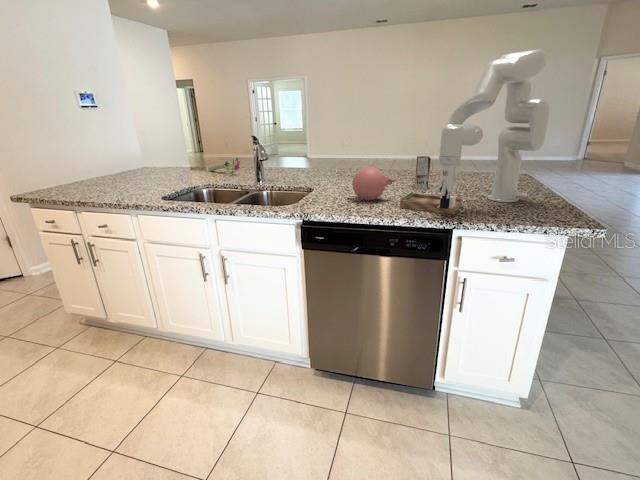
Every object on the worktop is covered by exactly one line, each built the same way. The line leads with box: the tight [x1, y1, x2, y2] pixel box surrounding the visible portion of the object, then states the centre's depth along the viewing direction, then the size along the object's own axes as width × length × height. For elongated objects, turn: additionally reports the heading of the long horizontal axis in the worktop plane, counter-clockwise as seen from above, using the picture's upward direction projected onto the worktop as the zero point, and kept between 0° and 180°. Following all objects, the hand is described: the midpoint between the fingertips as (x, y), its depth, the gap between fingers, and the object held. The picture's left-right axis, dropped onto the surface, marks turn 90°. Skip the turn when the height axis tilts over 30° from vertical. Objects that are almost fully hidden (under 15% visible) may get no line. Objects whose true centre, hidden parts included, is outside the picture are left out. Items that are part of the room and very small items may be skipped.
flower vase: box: [207, 156, 241, 176], centre depth 237 cm, size 12×12×35 cm
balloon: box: [351, 166, 397, 201], centre depth 156 cm, size 15×20×15 cm
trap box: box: [399, 190, 463, 216], centre depth 144 cm, size 22×15×4 cm
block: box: [439, 195, 457, 209], centre depth 137 cm, size 5×5×4 cm
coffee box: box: [414, 155, 432, 190], centre depth 179 cm, size 9×6×16 cm
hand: (444, 207), depth 133 cm, fingers closed
